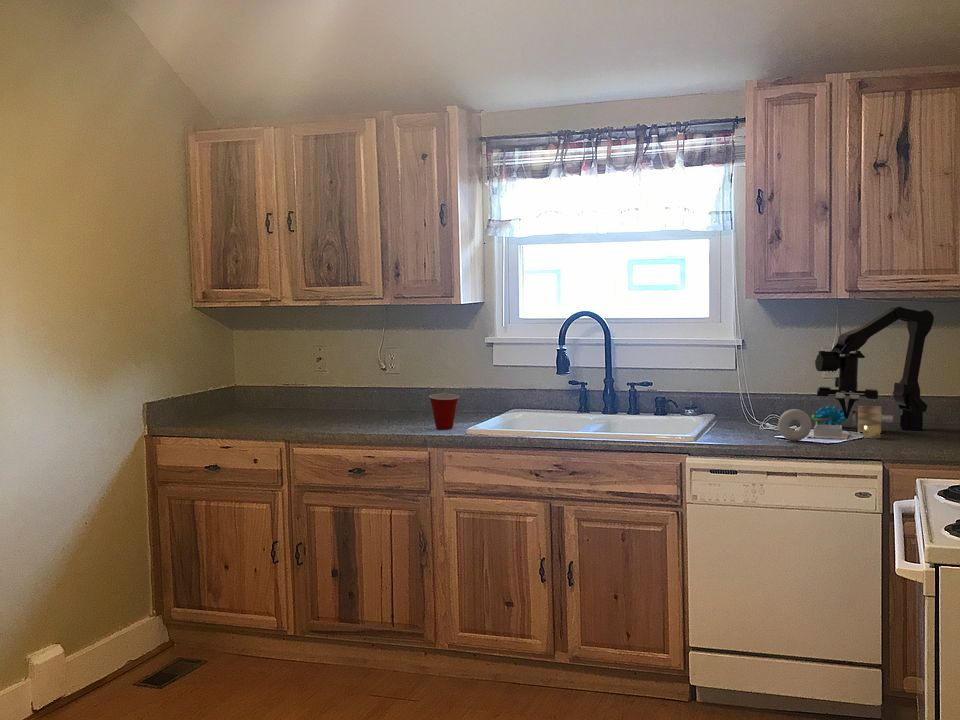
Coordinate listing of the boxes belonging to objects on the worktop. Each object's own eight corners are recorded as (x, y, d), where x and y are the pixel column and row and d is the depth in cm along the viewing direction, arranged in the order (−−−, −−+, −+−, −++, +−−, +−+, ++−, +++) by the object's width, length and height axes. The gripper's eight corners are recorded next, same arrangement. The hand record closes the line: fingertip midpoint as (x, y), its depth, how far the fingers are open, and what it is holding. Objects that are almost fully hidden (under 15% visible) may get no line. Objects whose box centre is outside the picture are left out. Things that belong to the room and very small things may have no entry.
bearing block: (881, 430, 329) (881, 406, 328) (880, 433, 322) (881, 409, 321) (858, 429, 332) (858, 405, 331) (857, 432, 324) (857, 408, 324)
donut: (778, 441, 309) (778, 409, 309) (777, 439, 313) (777, 408, 312) (812, 442, 307) (812, 409, 306) (811, 440, 310) (811, 408, 310)
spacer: (880, 437, 315) (880, 424, 314) (880, 439, 310) (880, 426, 310) (863, 436, 317) (863, 424, 316) (863, 438, 312) (863, 426, 312)
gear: (848, 421, 341) (843, 402, 335) (849, 434, 338) (843, 416, 331) (815, 424, 347) (809, 406, 340) (815, 437, 343) (808, 419, 337)
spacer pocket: (848, 434, 322) (848, 424, 321) (847, 439, 311) (847, 429, 310) (809, 432, 326) (809, 423, 326) (806, 438, 315) (806, 428, 315)
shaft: (892, 425, 326) (893, 410, 326) (892, 427, 322) (893, 411, 321) (852, 424, 331) (853, 409, 331) (852, 426, 326) (852, 410, 326)
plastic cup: (436, 431, 345) (435, 397, 344) (424, 428, 355) (424, 394, 354) (464, 429, 350) (464, 395, 349) (453, 425, 360) (452, 392, 359)
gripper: (879, 371, 332) (877, 417, 333) (820, 368, 339) (818, 414, 340) (878, 373, 321) (876, 421, 323) (817, 371, 329) (816, 418, 330)
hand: (846, 418), depth 329 cm, fingers closed
